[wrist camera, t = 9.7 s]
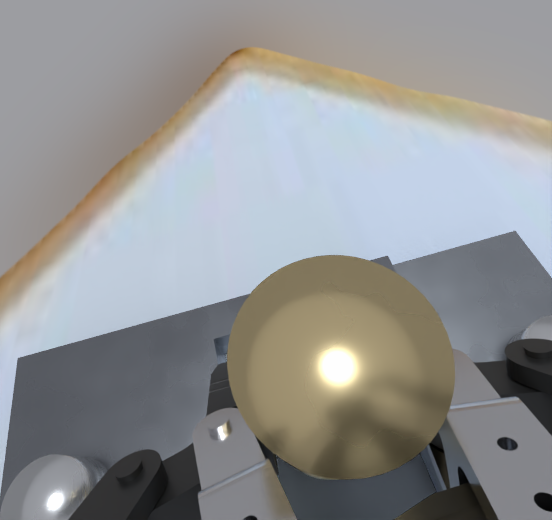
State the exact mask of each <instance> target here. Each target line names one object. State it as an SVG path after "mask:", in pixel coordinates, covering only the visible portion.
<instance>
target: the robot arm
mask: <svg viewBox="0 0 552 520" xmlns="http://www.w3.org/2000/svg"><path fill="white" fill-rule="evenodd" d="M452 351H453V356H454V362H455V384H454V393H453V397H452V401H451V405H450V409H449V411H448V414H447V416H446V418H445V421H444V423H443V425H442V426H441V428H440V429H439V431H438V433H437V434H436V436H435V437H434V438H433V440H432V441H431V442H430V443H429V444H428V445H427V449H428V453H429V455H430V458H431V460H432V463H433V466H434V468H435V471H436V473H437V476H438V478H439V481H440V484H441V486H442V489H443V491H440V492H437V493H434V494H432V495H431V496H429V497H427V498H426V499H424V500H423V501H421V502H420V503H418V504H417V505H415V506H414V507H412V508H411V509H409V510H408V511H406V512H405V513H403V514H402V515H400V516H398V517H397V518H395V519H394V520H552V340H546V339H537V338H530V339H521V340H517V341H514V342H512V343H510V344H508V345H507V346H506V348H505V360H503V361H491V362H473V361H472V360H471V359H470V358H469V356H468V355H466V354H465V353H464V352H461V351H459V350H456V349H452ZM192 439H193V443H192V444H190V445H189V446H188V447H186V448H185V449H183V450H182V451H180V452H178V453H176V454H174V455H173V456H171V457H169V458H167V459H165V460H163V461H162V459H161V457H160V454H159V453H158V452H157V451H155V450H150V449H146V450H140V451H137V452H134V453H131V454H129V455H127V456H126V457H124V458H122V459H121V460H119V461H118V462H117V463H115V464H114V465H113V466H112V467H111V468H110V469H109V470H108V471H107V472H106V473H105V475H104V476H103V477H102V478H101V480H100V481H99V482H98V483H97V484H96V486H95V487H94V488H93V489H92V491H91V492H90V493H89V494H88V496H87V497H86V498H85V499H84V501H83V502H82V503H81V504H80V506H79V507H78V508H77V509H76V510H75V512H74V513H73V514H72V515H71V517H70V518H69V519H68V520H297V518H296V516H295V514H294V512H293V510H292V507H291V505H290V503H289V501H288V499H287V497H286V494H285V492H284V490H283V488H282V486H281V484H280V481H279V479H278V477H277V475H279V474H278V468H277V461H276V455H275V454H274V453H273V452H272V451H270V450H269V449H268V448H267V447H266V446H265V445H264V444H263V443H262V442H261V441H260V440H259V439H258V438H257V437H256V436H255V435H254V433H253V432H252V431H251V429H250V428H249V427H248V425H247V424H246V422H245V421H244V419H243V417H242V415H241V413H240V412H239V410H238V407H237V405H236V402H235V400H234V397H233V395H232V391H231V387H230V383H229V378H228V369H227V362H225V363H221V364H218V365H217V367H216V368H215V369H214V371H213V372H212V374H211V380H210V388H209V396H208V405H207V413H206V417H205V418H203V419H202V420H201V421H200V422H199V423H198V424H197V425H196V427H195V429H194V431H193V434H192Z"/></svg>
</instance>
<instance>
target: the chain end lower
mask: <svg viewBox="0 0 552 520" xmlns="http://www.w3.org/2000/svg"><path fill="white" fill-rule="evenodd" d="M393 267H394V269H395V271H396V273H397V274H399V275H400V276H402V277H404V278H405V279H406V280H407V281H409V282H410V283H411V284H412V285H414V286H415V287H416V288H417V289H418V290H419V291H420V292H421V293H422V294H423V295H424V296H425V297H426V299H427V300H428V301H429V302H430V304H431V305H432V306H433V307H434V309H435V311H436V312H437V314H438V315H439V317H440V319H441V321H442V323H443V325H444V327H445V329H446V331H447V334H448V337H449V340H450V343H451V346H452V349H456V350H459V351H461V352H464V353H465V354H466V355H468V356H469V358H470V359H471V360H472V361H473V362H491V361H503V360H505V348H506V346H507V345H508V344H510V343H512V342H514V341H517V340H521V339H530V338H537V339H546V340H552V278H551V276H550V275H549V274H548V273H547V271H546V270H545V269H544V267H543V266H542V265H541V264H540V262H539V261H538V260H537V258H536V257H535V256H534V254H533V253H532V252H531V251H530V249H529V248H528V247H527V245H526V244H525V243H524V242H523V240H522V239H521V238H520V236H519V235H518V234H517V232H516V231H513V232H510V233H506V234H502V235H499V236H495V237H492V238H488V239H484V240H481V241H477V242H474V243H470V244H467V245H463V246H459V247H456V248H452V249H449V250H445V251H441V252H438V253H434V254H431V255H427V256H424V257H420V258H416V259H413V260H409V261H406V262H402V263H398V264H395V265H393ZM227 350H228V345H225V346H221V347H220V352H221V358H222V363H225V362H226V358H225V354H227ZM420 453H421V456H422V458H423V461H424V463H425V465H426V468H427V470H428V472H429V475H430V477H431V480H432V482H433V484H434V487H435V489H436V492H440V491H443V489H442V486H441V484H440V481H439V478H438V476H437V473H436V471H435V468H434V466H433V463H432V460H431V458H430V456H429V453H428V451H427V449H426V448H425V449H424V450H423V451H421V452H420Z"/></svg>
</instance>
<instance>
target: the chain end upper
mask: <svg viewBox="0 0 552 520" xmlns="http://www.w3.org/2000/svg"><path fill="white" fill-rule="evenodd" d="M370 261H372V262H374V263H377V264H380V265H382V266H384V267H386V268H388V269H390V270H392V271H394V272H396V271H395V269H394V267H393V265H392V263H391V261H390V259H389V257H388V256H385V257H381V258H377V259H374V260H370ZM249 295H250V294H248V295H244V296H240V297H237V298H233V299H230V300H226V301H222V302H219V303H215V304H212V305H208V306H204V307H201V308H197V309H194V310H190V311H186V312H183V313H179V314H176V315H172V316H168V317H165V318H161V319H158V320H154V321H150V322H147V323H143V324H139V325H136V326H132V327H129V328H125V329H121V330H118V331H114V332H111V333H107V334H103V335H100V336H96V337H93V338H89V339H85V340H82V341H78V342H75V343H71V344H67V345H64V346H60V347H57V348H53V349H49V350H46V351H42V352H39V353H35V354H31V355H28V356H24V357H20V358H18V361H17V369H16V377H15V385H14V393H13V400H12V408H11V416H10V424H9V432H8V440H7V447H6V455H5V463H4V471H3V479H2V487H1V495H0V520H68V519H69V518H70V517H71V515H72V514H73V513H74V512H75V510H76V509H77V508H78V507H79V506H80V504H81V503H82V502H83V501H84V499H85V498H86V497H87V496H88V494H89V493H90V492H91V491H92V489H93V488H94V487H95V486H96V484H97V483H98V482H99V481H100V480H101V478H102V477H103V476H104V475H105V473H106V472H107V471H108V470H109V469H110V468H111V467H112V466H113V465H114V464H115V463H117V462H118V461H119V460H121V459H122V458H124V457H126V456H127V455H129V454H131V453H134V452H137V451H140V450H146V449H150V450H155V451H157V452H158V453H159V454H160V457H161V459H162V461H163V460H165V459H167V458H169V457H171V456H173V455H174V454H176V453H178V452H180V451H182V450H183V449H185V448H186V447H188V446H189V445H190V444H192V443H193V439H192V434H193V431H194V429H195V427H196V425H197V424H198V423H199V422H200V421H201V420H202V419H203V418H205V417H206V413H207V405H208V396H209V388H210V380H211V374H212V372H213V371H214V369H215V368H216V367H217V365H218V364H221V363H222V358H221V352H220V347H221V346H225V345H228V343H229V337H230V334H231V330H232V326H233V323H234V321H235V319H236V316H237V314H238V312H239V310H240V309H241V307H242V305H243V303H244V302H245V300H246V299H247V298H248V296H249ZM426 449H427V447H426ZM427 451H428V449H427ZM429 456H430V455H429Z"/></svg>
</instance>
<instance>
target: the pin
mask: <svg viewBox="0 0 552 520" xmlns="http://www.w3.org/2000/svg"><path fill="white" fill-rule="evenodd" d="M227 369H228V378H229V383H230V387H231V391H232V395H233V397H234V400H235V402H236V405H237V407H238V410H239V412H240V413H241V415H242V417H243V419H244V421H245V422H246V424H247V425H248V427H249V428H250V429H251V431H252V432H253V433H254V435H255V436H256V437H257V438H258V439H259V440H260V441H261V442H262V443H263V444H264V445H265V446H266V447H267V448H268V449H269V450H270V451H272V452H273V453H274V454H276V455H277V456H278V457H280V458H281V459H282V460H284V461H285V462H287V463H289V464H290V465H292V466H293V467H295V468H297V469H298V470H300V471H301V472H303V473H305V474H307V475H308V476H311V477H313V478H317V479H324V480H339V479H361V478H368V477H372V476H377V475H381V474H384V473H386V472H389V471H391V470H394V469H396V468H398V467H400V466H402V465H403V464H405V463H407V462H408V461H410V460H412V459H413V458H414V457H415V456H417V455H418V454H419V453H420V452H421V451H423V450H424V449H425V448H426V447H427V445H428V444H429V443H430V442H431V441H432V440H433V438H434V437H435V436H436V434H437V433H438V431H439V429H440V428H441V426H442V425H443V423H444V421H445V418H446V416H447V414H448V411H449V409H450V405H451V401H452V397H453V393H454V384H455V362H454V356H453V351H452V346H451V343H450V340H449V337H448V334H447V331H446V329H445V327H444V325H443V323H442V321H441V319H440V317H439V315H438V314H437V312H436V311H435V309H434V307H433V306H432V305H431V304H430V302H429V301H428V300H427V299H426V297H425V296H424V295H423V294H422V293H421V292H420V291H419V290H418V289H417V288H416V287H415V286H414V285H412V284H411V283H410V282H409V281H407V280H406V279H405V278H404V277H402V276H400V275H399V274H397V273H396V272H394V271H392V270H390V269H388V268H386V267H384V266H382V265H380V264H377V263H374V262H372V261H369V260H365V259H361V258H357V257H351V256H343V255H326V256H316V257H312V258H307V259H303V260H300V261H297V262H294V263H291V264H289V265H287V266H285V267H283V268H281V269H279V270H278V271H276V272H274V273H273V274H271V275H270V276H269V277H267V278H266V279H265V280H264V281H262V282H261V283H260V284H259V285H258V286H257V287H256V288H255V289H254V290H253V291H252V292H251V294H250V295H249V296H248V298H247V299H246V300H245V302H244V303H243V305H242V307H241V309H240V310H239V312H238V314H237V316H236V319H235V321H234V323H233V326H232V330H231V334H230V337H229V343H228V350H227Z"/></svg>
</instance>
